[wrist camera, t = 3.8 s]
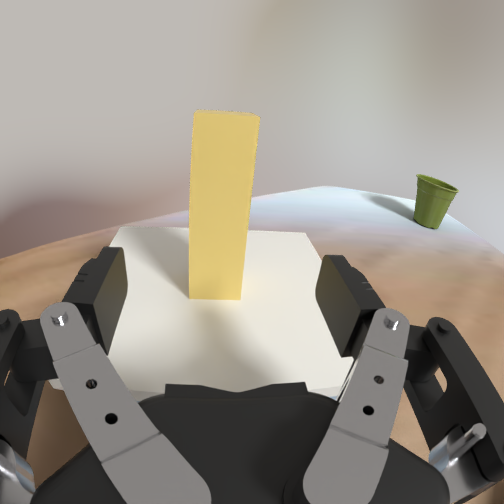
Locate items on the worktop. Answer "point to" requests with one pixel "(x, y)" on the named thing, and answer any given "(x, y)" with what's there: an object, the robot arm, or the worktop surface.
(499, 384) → the worktop surface
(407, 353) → the robot arm
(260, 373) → the lid
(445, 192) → the plant pot
